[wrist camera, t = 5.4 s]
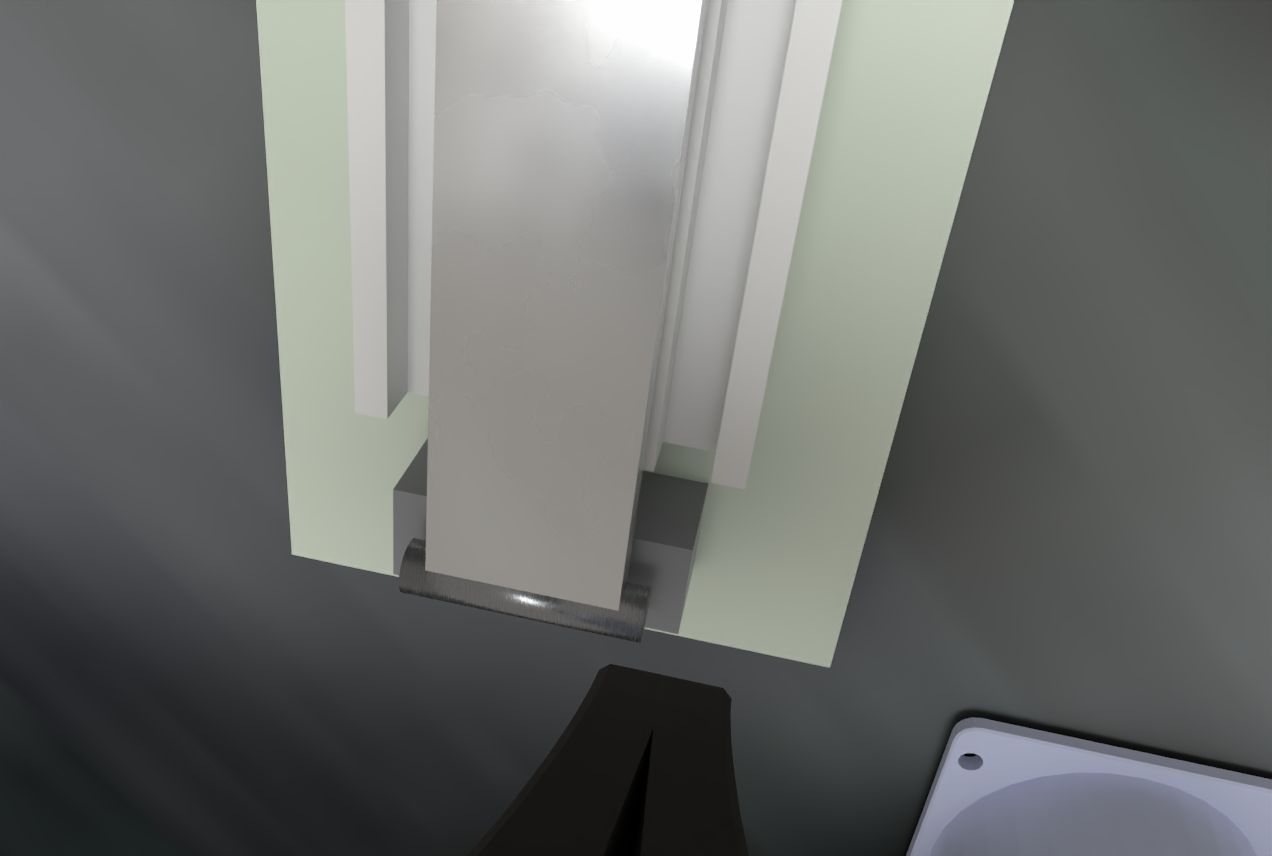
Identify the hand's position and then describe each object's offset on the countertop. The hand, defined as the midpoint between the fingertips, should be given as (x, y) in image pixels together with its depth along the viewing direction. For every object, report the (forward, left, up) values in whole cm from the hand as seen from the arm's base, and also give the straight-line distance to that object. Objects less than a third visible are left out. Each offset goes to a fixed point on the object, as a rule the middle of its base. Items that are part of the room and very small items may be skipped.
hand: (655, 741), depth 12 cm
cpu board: (+2, +3, -10) cm, 11 cm away
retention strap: (+3, +3, -7) cm, 8 cm away
